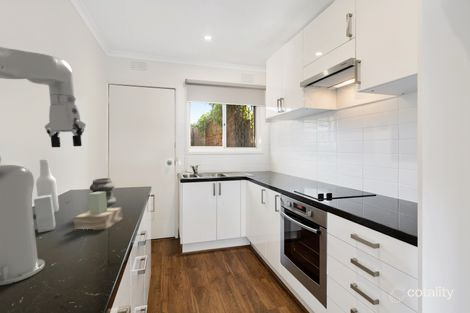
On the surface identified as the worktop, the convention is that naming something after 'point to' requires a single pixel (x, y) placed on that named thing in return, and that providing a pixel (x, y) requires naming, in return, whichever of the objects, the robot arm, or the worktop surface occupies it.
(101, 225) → the birch block
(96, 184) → the apothecary jar
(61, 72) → the robot arm
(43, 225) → the skincare box
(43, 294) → the worktop surface
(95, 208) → the sage block
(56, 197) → the alcohol
